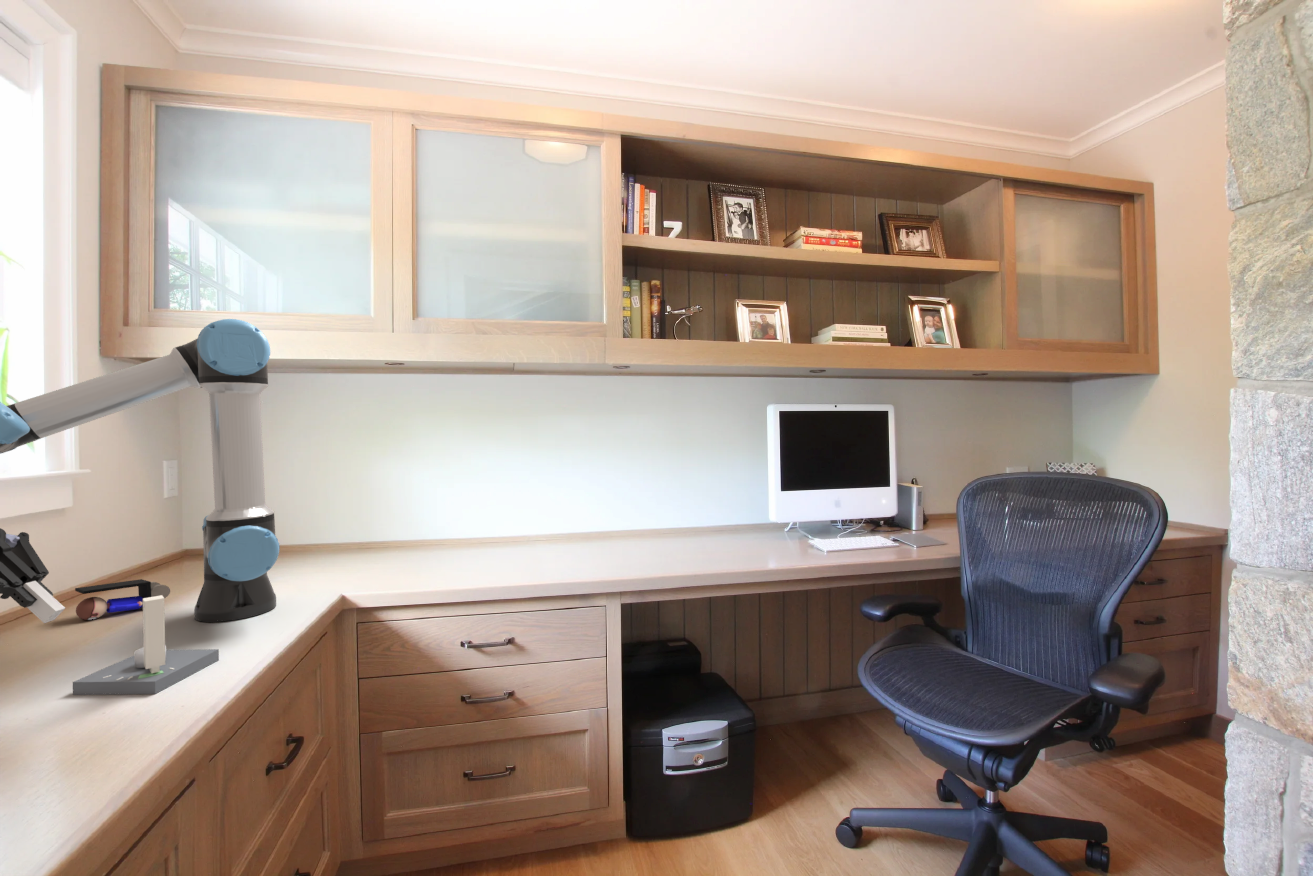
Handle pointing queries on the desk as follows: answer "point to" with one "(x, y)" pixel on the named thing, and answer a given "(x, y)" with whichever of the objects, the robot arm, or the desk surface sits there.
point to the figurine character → (99, 606)
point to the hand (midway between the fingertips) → (54, 615)
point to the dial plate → (145, 674)
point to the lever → (152, 635)
